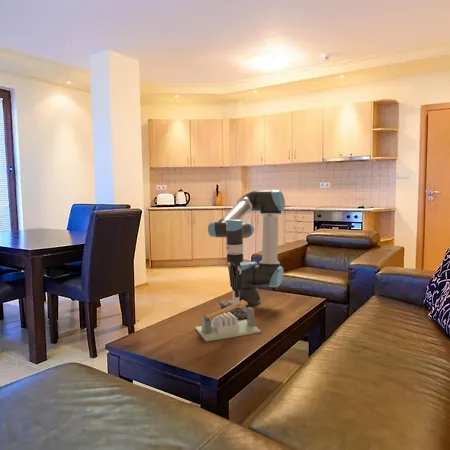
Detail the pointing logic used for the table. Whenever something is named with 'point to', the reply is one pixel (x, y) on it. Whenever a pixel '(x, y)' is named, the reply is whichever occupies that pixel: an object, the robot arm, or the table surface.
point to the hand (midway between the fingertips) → (236, 303)
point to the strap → (225, 310)
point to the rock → (238, 312)
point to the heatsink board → (231, 334)
